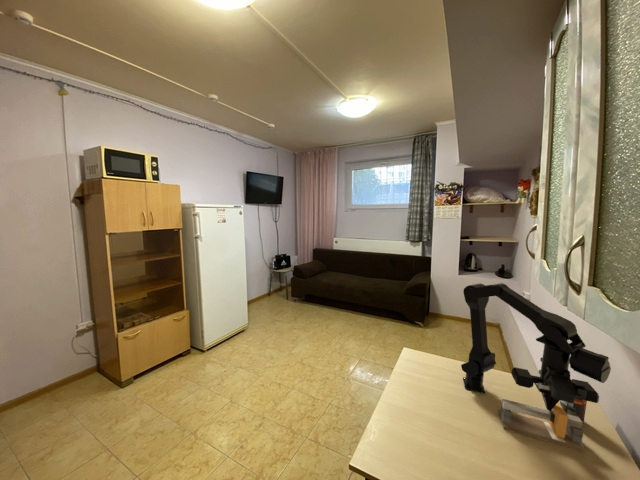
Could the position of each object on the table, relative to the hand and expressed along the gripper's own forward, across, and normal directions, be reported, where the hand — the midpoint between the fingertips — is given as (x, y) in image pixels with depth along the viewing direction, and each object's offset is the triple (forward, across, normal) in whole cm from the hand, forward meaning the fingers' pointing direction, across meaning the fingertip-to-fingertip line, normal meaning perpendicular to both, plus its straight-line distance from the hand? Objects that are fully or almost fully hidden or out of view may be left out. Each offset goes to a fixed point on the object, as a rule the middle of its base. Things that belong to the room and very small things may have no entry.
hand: (548, 409), depth 78 cm
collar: (+5, +2, 0) cm, 6 cm away
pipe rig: (+8, -2, 0) cm, 8 cm away
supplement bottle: (+8, +10, +10) cm, 16 cm away
